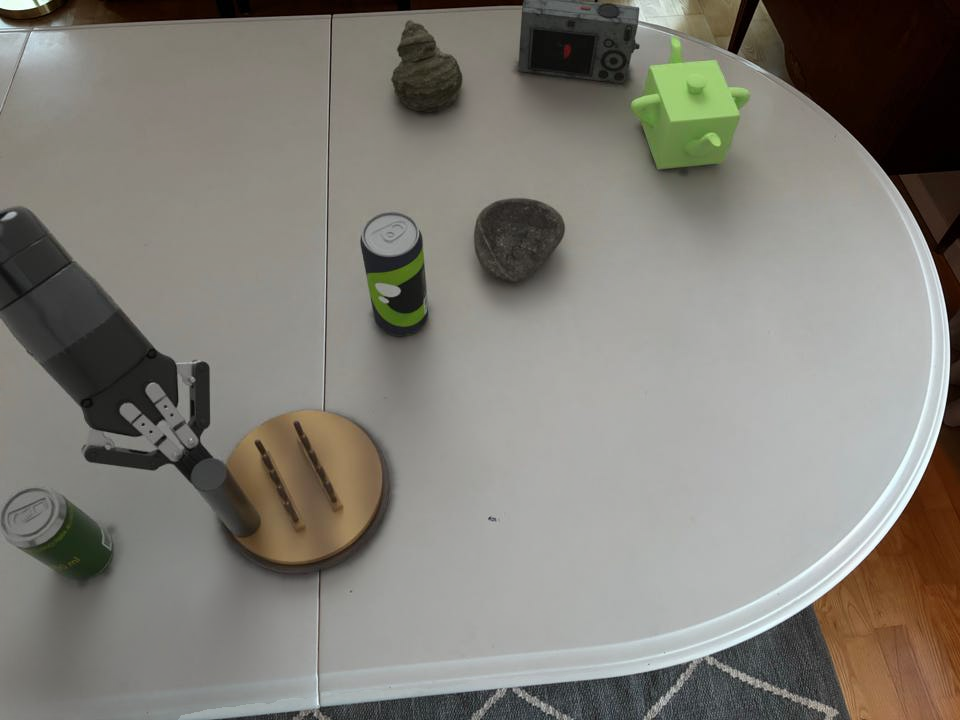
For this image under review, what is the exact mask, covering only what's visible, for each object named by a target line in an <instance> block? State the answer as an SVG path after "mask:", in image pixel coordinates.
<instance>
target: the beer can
mask: <svg viewBox="0 0 960 720" xmlns="http://www.w3.org/2000/svg"><path fill="white" fill-rule="evenodd" d="M0 533H1V534H2V536H3V537H4V539H5V540H6V542H8V543H9V544H11V545H12V546H14V547H16V548H17V549H19V550H20V551H22V552H24V553H25V554H27V555H29V556H30V557H32V558H34V559H35V560H37V561H38V562H40V563H42V564H43V565H44V566H47V567H48V568H50V569H51V570H54V571H55V572H57V574H59V575H61V576H63V577H65V578H66V579H68V580H72V581H83V580H84V581H85V580H88V579H91V578H93V577H95V576H98V575H99V574H100V573H101V572H103V571H104V570H105V568H107V566H108V565H109V564H110V562H111V559H112V556H113V552H114V541H113V539H112V535H111V534H110V533H109V532H108V530H106V529H105V528H104V527H102V525H100V524H99V523H97V521H95V520H94V519H93V518H92V517H90V516H89V515H88V514H87V513H85V512H84V511H83V510H82V509H80V508H79V506H77V505H76V504H75V503H73V502H72V501H70V500H69V499H68V498H67V497H66V496H65V495H63V494H62V493H61V492H59V491H58V490H56V489H54V488H51V487H46V486H43V485H37V484H36V485H28V486H25V487H22V488H20V489H18V490H16V491H15V492H14V493H12V494H11V495H9V496H8V498H7V499H6V500H5V501H4V502H3V504H2V506H1V508H0Z"/></svg>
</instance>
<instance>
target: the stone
mask: <svg viewBox="0 0 960 720" xmlns="http://www.w3.org/2000/svg"><path fill="white" fill-rule="evenodd" d="M565 224H566V223H565V221H564V218H563V217H562V215H561V214H560V212H559V211H558V210H557V209H556V208H554V207H553V206H551V205H549V204H548V203H545V202H542V201H540V200H537V199H532V198H526V197H525V198H524V197H513V198H512V197H511V198H504V199H500V200H496V201H494V202H492V203H490V204H488V205H487V206H486V207H484V208H483V209H482V210H481V211H480V212H479V214H478V216H477V218H476V220H475V225H474V231H473V245H474V251H475V255H476V257H477V259H478V261H479V263H480V265H481V266H482V267H483V269H484V270H485V271H486V272H487V273H489V274H490V275H491V276H493V277H495V278H497V279H498V280H502V281H505V282H509V283H510V282H511V283H519V282H522V281H524V280H526V279H527V278H529V277H530V276H532V275H533V274H534V273H535V272H536V271H538V270H539V269H540V268H541V267H542V266H543V265H544V264H545V262H546V261H547V260H549V258H550V256H551V255H552V254H553V252H554V251H555V250H556V249H557V247H558V246H559V245H560V243H561V242H562V240H563V238H564V236H565V230H566V225H565Z"/></svg>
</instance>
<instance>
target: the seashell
mask: <svg viewBox="0 0 960 720" xmlns="http://www.w3.org/2000/svg"><path fill="white" fill-rule="evenodd" d="M396 49H397V53H398V57H399V58H400V61H399V63H398V65H396V67H395V68H394V69H393V71H392V76H391V77H390V81H391V83H392V86H393V88H394V93H395V94H396V95H397V97H398V99H399V100H400V101H401V102H402V104H404V105H405V106H406V107H407V108H410V109H412V110H414V111H421V112H424V113H426V112H430V113H431V112H437V111H439V110H442V109H443V108H446V107H448V106H449V105H450V104H452V103H453V102H454V101H455V99H456V96H457V95H458V92H459V90H460V88H462V85H463V74H462V71H461V67H460V65H459V63H458V60H457V59H456V58H455V57H454V56H453V54H450V53H446V52H443V51H442V50H441V49H440V48H439V47H438V46H437V41H436V40H435V37H434V36H433V35H432V34H431V33H429V31H428V30H427V29H426V28H425V26H424V25H423V24H421V23H419V22H415V21H413V20H411V19H408V20H407V21H406V22H405V24H404V29H403V31H402V32H401V36H400V42H399V44H398V46H397V48H396ZM454 114H455V112H454Z"/></svg>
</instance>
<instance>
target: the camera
mask: <svg viewBox="0 0 960 720" xmlns="http://www.w3.org/2000/svg"><path fill="white" fill-rule="evenodd" d="M639 16H640V7H639V6H632V5H623V4H615V3H611V2H597V1H590V0H589V1H587V0H523V3H522V8H521V20H520V33H519V34H520V35H519V49H518V65H517V72H522V73H530V74H531V73H532V74H540V75H548V76H556V77H565V78H574V79H582V80H590V81H598V82H599V81H600V82H608V83H614V84H615V83H616V84H626V82H627V78H628V75H629V74H628V73H629V68H630V64H631V59H632V55H633V53H634V51H635V50H639V49H640V48H641V45H640V44H639V43H637V41H636V36H637V31H638V26H639V19H640V17H639Z"/></svg>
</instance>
